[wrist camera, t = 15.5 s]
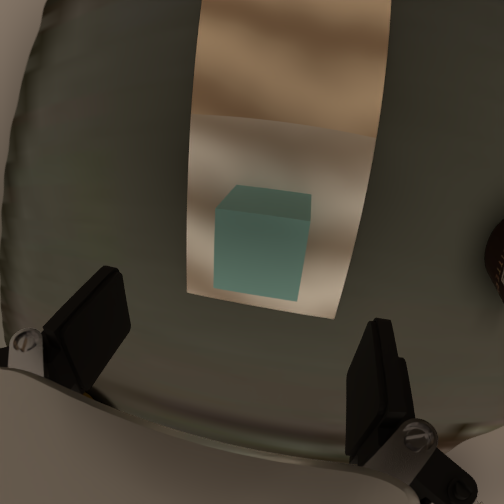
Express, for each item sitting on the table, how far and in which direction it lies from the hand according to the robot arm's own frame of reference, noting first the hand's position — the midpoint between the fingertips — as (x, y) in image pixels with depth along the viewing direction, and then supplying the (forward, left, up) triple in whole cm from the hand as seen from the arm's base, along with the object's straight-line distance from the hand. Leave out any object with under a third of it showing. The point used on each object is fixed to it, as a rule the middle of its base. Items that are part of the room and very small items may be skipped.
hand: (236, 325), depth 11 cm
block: (+1, 0, -12) cm, 12 cm away
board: (-6, 0, -13) cm, 14 cm away
